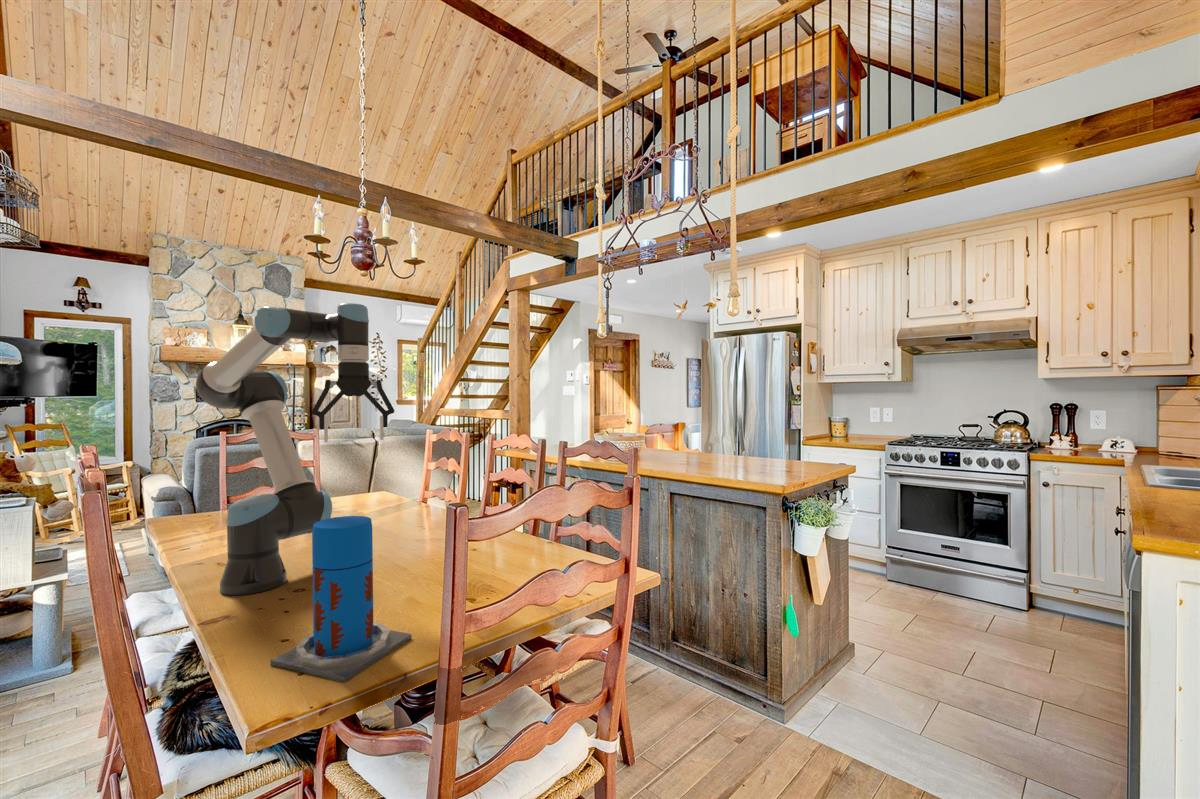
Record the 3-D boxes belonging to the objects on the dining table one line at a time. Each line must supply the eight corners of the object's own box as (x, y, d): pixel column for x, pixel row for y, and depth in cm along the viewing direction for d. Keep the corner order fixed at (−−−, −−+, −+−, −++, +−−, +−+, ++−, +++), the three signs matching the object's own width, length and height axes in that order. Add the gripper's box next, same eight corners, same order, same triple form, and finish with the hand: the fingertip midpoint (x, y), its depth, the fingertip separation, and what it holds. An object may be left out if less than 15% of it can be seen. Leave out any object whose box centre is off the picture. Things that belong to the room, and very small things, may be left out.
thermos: (357, 629, 116) (356, 513, 115) (383, 644, 109) (382, 520, 108) (304, 648, 107) (302, 523, 107) (328, 665, 100) (327, 531, 100)
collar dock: (270, 665, 103) (270, 652, 102) (344, 626, 119) (344, 615, 119) (344, 682, 96) (344, 668, 96) (411, 638, 113) (411, 626, 113)
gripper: (299, 360, 137) (300, 443, 137) (404, 362, 147) (404, 439, 148) (301, 361, 143) (302, 441, 144) (401, 363, 154) (402, 437, 154)
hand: (354, 440), depth 146 cm, fingers open, 13 cm apart
